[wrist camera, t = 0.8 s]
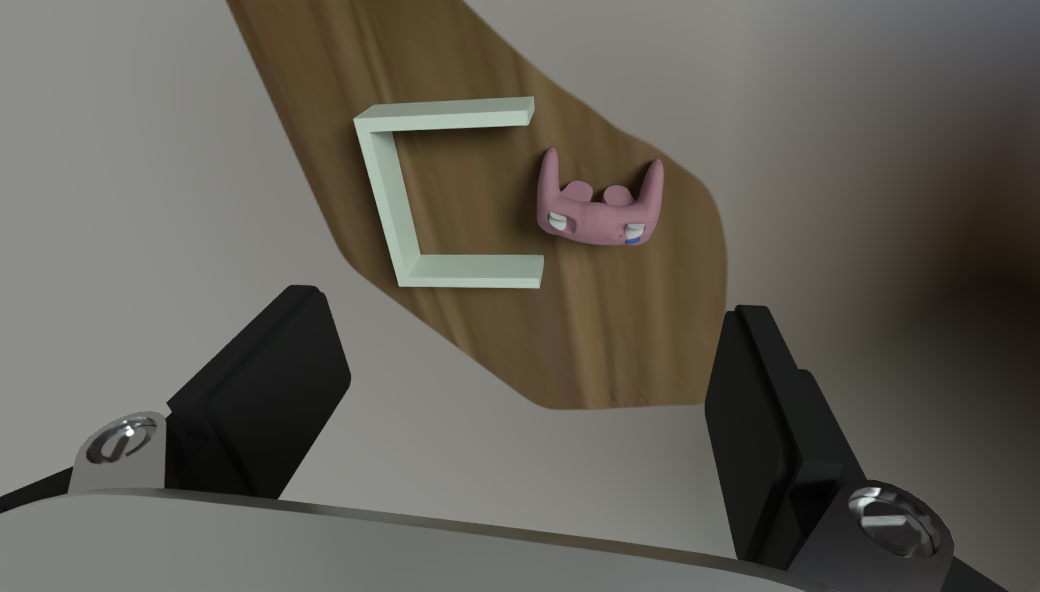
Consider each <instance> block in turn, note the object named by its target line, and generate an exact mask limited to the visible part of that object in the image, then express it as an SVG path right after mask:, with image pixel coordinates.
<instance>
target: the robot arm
mask: <svg viewBox="0 0 1040 592" xmlns="http://www.w3.org/2000/svg"><path fill="white" fill-rule="evenodd" d="M350 382H351V373H350V370H349V367H348V364H347V361H346V358H345V354H344V351H343V348H342V345H341V342H340V339H339V336H338V333H337V330H336V326H335V323H334V320H333V317H332V314H331V311H330V308H329V305H328V302H327V298H326V296H325V294H324V293H322V292H320V291H319V289H318V288H317V287H315V286H309V285H308V286H307V285H290V286H288V287H287V288H286V289H285V290H284V291H283V292H282V293H281V294H280V295H279V296H278V297H277V298H275V299H274V300H273V301H272V302H271V303H270V304H269V305H268V306H267V307H266V308H265V309H264V310H263V311H262V312H261V313H260V314H259V315H258V316H257V317H256V318H254V319H253V320H252V321H251V322H250V323H249V324H248V325H247V326H246V327H245V328H244V329H243V330H242V331H241V332H240V333H239V334H238V335H237V336H236V337H235V338H233V339H232V340H231V341H230V342H229V343H228V344H227V345H226V346H225V347H224V348H223V349H222V350H221V351H220V352H219V353H218V354H217V355H216V356H215V357H214V358H213V359H211V361H209V362H208V363H207V364H206V365H205V366H204V367H203V368H202V369H201V370H200V371H199V372H198V373H197V374H196V375H195V376H194V377H193V378H192V379H191V380H190V381H188V382H187V383H186V384H185V385H184V386H183V387H182V388H181V389H180V390H179V391H178V392H177V393H176V394H175V395H174V396H173V397H172V398H171V399H170V400H169V401H168V402H166V403H167V405H168V406H169V408H170V409H171V411H172V413H171V414H170V415H169V416H168V417H167V418H166V419H165V417H163V416H162V415H161V414H160V413H156V412H151V411H147V412H138V413H134V414H130V415H127V416H124V417H122V418H120V419H117V420H115V421H112V422H111V423H109V424H107V425H106V426H104V427H102V428H101V429H99V430H98V431H97V432H95V433H94V434H93V435H92V436H90V437H89V438H88V439H87V440H86V441H85V443H84V444H83V445H82V446H81V447H80V449H79V451H78V453H77V456H76V459H75V463H74V466H73V467H70V468H68V469H66V470H63V471H61V472H58V473H56V474H54V475H51V476H49V477H46V478H44V479H42V480H39V481H37V482H34V483H32V484H30V485H27V486H25V487H23V488H20V489H18V490H15V491H13V492H11V493H8V494H6V495H3V496H1V497H0V592H1008V591H1007V590H1005V589H1004V588H1002V587H1001V586H999V585H998V584H996V583H995V582H993V581H992V580H990V579H989V578H987V577H985V576H984V575H982V574H981V573H979V572H978V571H976V570H975V569H973V568H972V567H970V566H969V565H967V564H966V563H964V562H962V561H961V560H959V559H958V558H956V557H955V556H954V548H955V544H954V541H953V538H952V535H951V533H950V530H949V529H948V527H947V526H946V524H945V523H944V521H943V520H942V519H941V517H940V516H939V515H938V514H937V513H936V512H935V511H934V510H933V509H932V508H931V507H930V506H929V505H927V504H926V503H925V502H924V501H922V500H921V499H919V498H918V497H916V496H915V495H913V494H912V493H910V492H908V491H906V490H904V489H902V488H900V487H897V486H895V485H893V484H890V483H886V482H882V481H879V480H873V479H867V478H866V477H865V475H864V473H863V471H862V469H861V467H860V465H859V463H858V461H857V459H856V457H855V455H854V454H853V452H852V450H851V448H850V446H849V444H848V442H847V440H846V438H845V436H844V434H843V432H842V430H841V428H840V427H839V425H838V423H837V421H836V419H835V417H834V415H833V413H832V411H831V409H830V407H829V405H828V403H827V401H826V400H825V397H824V396H823V394H822V392H821V390H820V388H819V386H818V384H817V382H816V380H815V378H814V377H813V375H812V374H811V372H809V371H807V370H802V369H798V368H797V366H796V364H795V362H794V360H793V357H792V355H791V353H790V351H789V349H788V347H787V345H786V343H785V341H784V339H783V337H782V335H781V333H780V331H779V329H778V327H777V325H776V323H775V321H774V319H773V316H772V314H771V313H770V310H769V309H768V307H766V306H755V305H737V306H736V308H735V310H734V311H727V312H726V314H725V317H724V321H723V325H722V330H721V334H720V338H719V343H718V347H717V351H716V356H715V360H714V364H713V369H712V373H711V377H710V382H709V386H708V390H707V395H706V399H705V417H706V421H707V426H708V431H709V435H710V440H711V444H712V449H713V453H714V458H715V462H716V467H717V471H718V476H719V480H720V485H721V489H722V494H723V498H724V503H725V507H726V512H727V516H728V520H729V525H730V530H731V534H732V538H733V543H734V548H735V552H736V556H737V558H738V560H736V559H730V558H726V557H720V556H715V555H710V554H703V553H697V552H690V551H683V550H676V549H669V548H661V547H655V546H648V545H640V544H634V543H627V542H620V541H613V540H604V539H596V538H588V537H581V536H573V535H565V534H557V533H549V532H541V531H534V530H526V529H518V528H510V527H502V526H494V525H485V524H478V523H470V522H461V521H453V520H445V519H437V518H429V517H421V516H412V515H404V514H396V513H387V512H379V511H370V510H362V509H354V508H346V507H336V506H328V505H319V504H311V503H302V502H294V501H285V500H277V499H278V498H279V497H280V495H281V493H282V492H283V490H284V489H285V487H286V486H287V484H288V482H289V481H290V479H291V478H292V476H293V474H294V473H295V471H296V470H297V468H298V467H299V465H300V464H301V462H302V460H303V459H304V457H305V456H306V454H307V452H308V451H309V449H310V447H311V446H312V445H313V443H314V441H315V440H316V438H317V437H318V435H319V434H320V432H321V431H322V429H323V427H324V426H325V424H326V423H327V421H328V420H329V418H330V417H331V415H332V413H333V412H334V410H335V409H336V407H337V405H338V404H339V402H340V401H341V399H342V398H343V396H344V395H345V393H346V391H347V390H348V388H349V386H350Z"/></svg>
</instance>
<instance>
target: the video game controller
mask: <svg viewBox="0 0 1040 592" xmlns="http://www.w3.org/2000/svg"><path fill="white" fill-rule="evenodd" d="M663 179H664V170H663V165H662V162H661V161H660V160H659V159H655V160H654V161H653V162H652V163H651V165H650V167H649V169H648V171H647V173H646V175H645V178H644V181H643V184H642V187H641V191H640V195H639V198H638V199H637V201H635V200H634V199H633V197H632V195H631V194H630V192H629V190H628V189H627V188H625V187H623V186H619V185H615V186H610V187H608V188H607V189H606V190H605V192H604V195H603V199H602V203H599V202H590V200H591V198H592V194H593V191H592V188H591V186H590V185H589V184H587V183H585V182H582V181H573V182H571V183H570V184H569V185H567V187H566V188H565V189H564V190H563V191H562V192H561V191H560V189H559V181H558V155H557V152H556V150H555V148H553V147H551V148H549V149H548V150H547V152H546V153H545V156H544V158H543V162H542V166H541V170H540V176H539V181H538V189H537V222H538V224H539V226H540V227H541V228H542V229H543V230H544V231H546V232H547V233H550V234H553V235H560V236H562V237H565V238H568V239H571V240H574V241H578V242H582V243H588V244H595V245H621V244H627V245H639V244H642V243H644V242H646V241H647V240H648V239H649V237H650V236H651V234H652V232H653V230H654V228H655V226H656V223H657V220H658V217H659V213H660V208H661V202H662V191H663Z"/></svg>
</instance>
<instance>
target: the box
mask: <svg viewBox="0 0 1040 592" xmlns="http://www.w3.org/2000/svg"><path fill="white" fill-rule="evenodd" d="M534 110H535V108H534V96H533V97H514V98H495V99H476V100H457V101H438V102H419V103H400V104H381V105H373V106H372V107H370V108H369V109H367V110H366V111H364V112H363V113H361V114H360V115H358V116H357V117H355V118H354V119H353V120H354V123H355V127H356V131H357V134H358V138H359V142H360V145H361V149H362V153H363V156H364V160H365V164H366V167H367V171H368V175H369V178H370V182H371V186H372V189H373V193H374V196H375V200H376V204H377V207H378V211H379V215H380V218H381V222H382V226H383V229H384V233H385V237H386V240H387V244H388V248H389V251H390V255H391V259H392V262H393V266H394V270H395V273H396V277H397V281H398V284H399V286H408V287H492V288H540V283H541V277H542V272H543V266H544V257H543V255H421V254H420V250H419V246H418V242H417V237H416V233H415V229H414V224H413V220H412V216H411V211H410V207H409V203H408V198H407V194H406V190H405V185H404V181H403V177H402V173H401V168H400V164H399V160H398V155H397V151H396V147H395V142H394V138H393V134H392V131H402V130H426V129H449V128H472V127H495V126H518V125H528V124H529V122H530V120H531V117H532V115H533V113H534Z"/></svg>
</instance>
